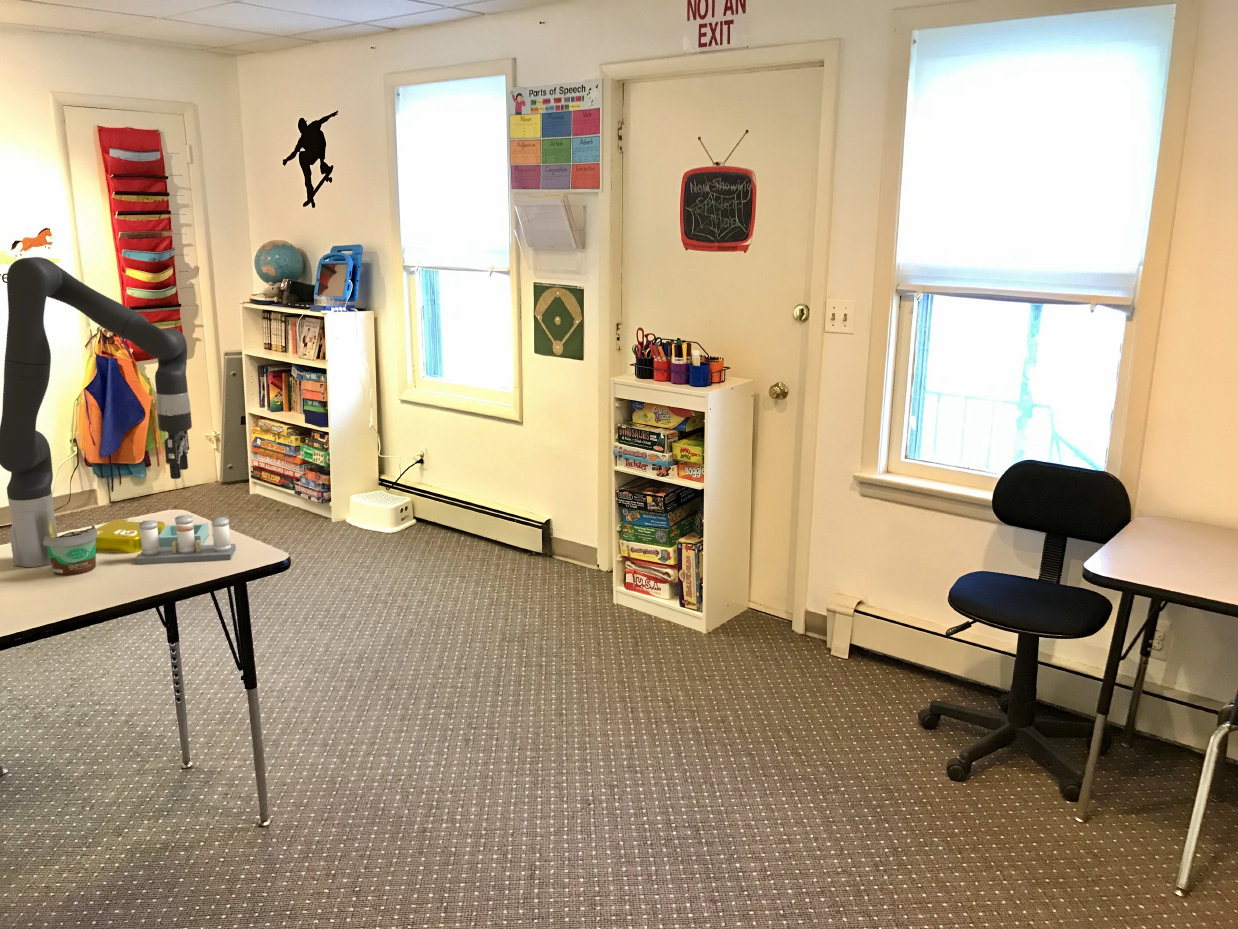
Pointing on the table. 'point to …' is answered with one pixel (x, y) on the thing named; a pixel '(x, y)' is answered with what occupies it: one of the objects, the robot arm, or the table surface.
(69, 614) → the table surface
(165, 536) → the tray
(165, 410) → the robot arm
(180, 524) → the marked fuse
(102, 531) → the element tile
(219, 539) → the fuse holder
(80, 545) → the food container
